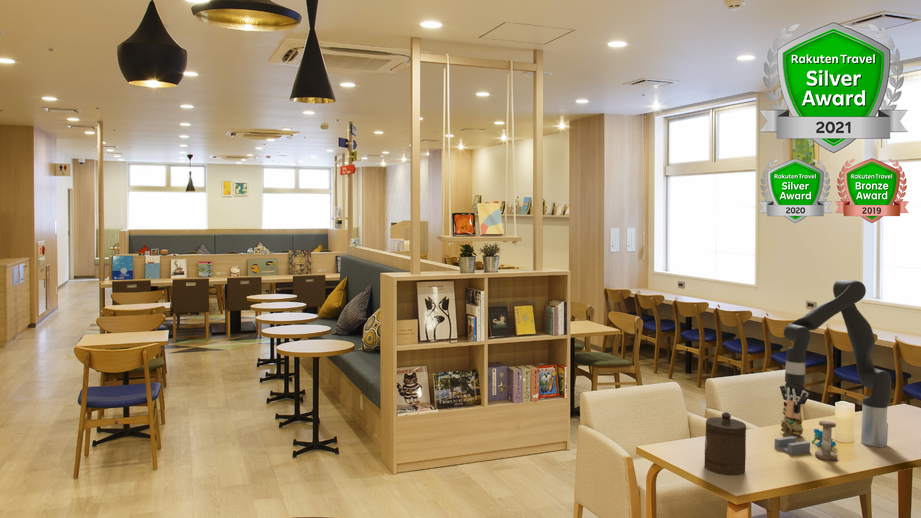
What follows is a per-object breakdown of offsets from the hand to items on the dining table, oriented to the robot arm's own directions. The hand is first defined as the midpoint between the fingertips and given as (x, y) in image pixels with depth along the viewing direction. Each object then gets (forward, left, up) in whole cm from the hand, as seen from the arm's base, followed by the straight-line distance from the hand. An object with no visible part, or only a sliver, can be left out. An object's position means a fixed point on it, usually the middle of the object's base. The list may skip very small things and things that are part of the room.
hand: (793, 412), depth 275 cm
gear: (-18, 0, -17) cm, 24 cm away
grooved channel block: (0, 0, -16) cm, 16 cm away
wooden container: (+43, +8, -17) cm, 47 cm away
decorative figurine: (-17, -15, -17) cm, 28 cm away
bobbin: (-6, +12, -16) cm, 21 cm away
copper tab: (+1, 0, -2) cm, 2 cm away
